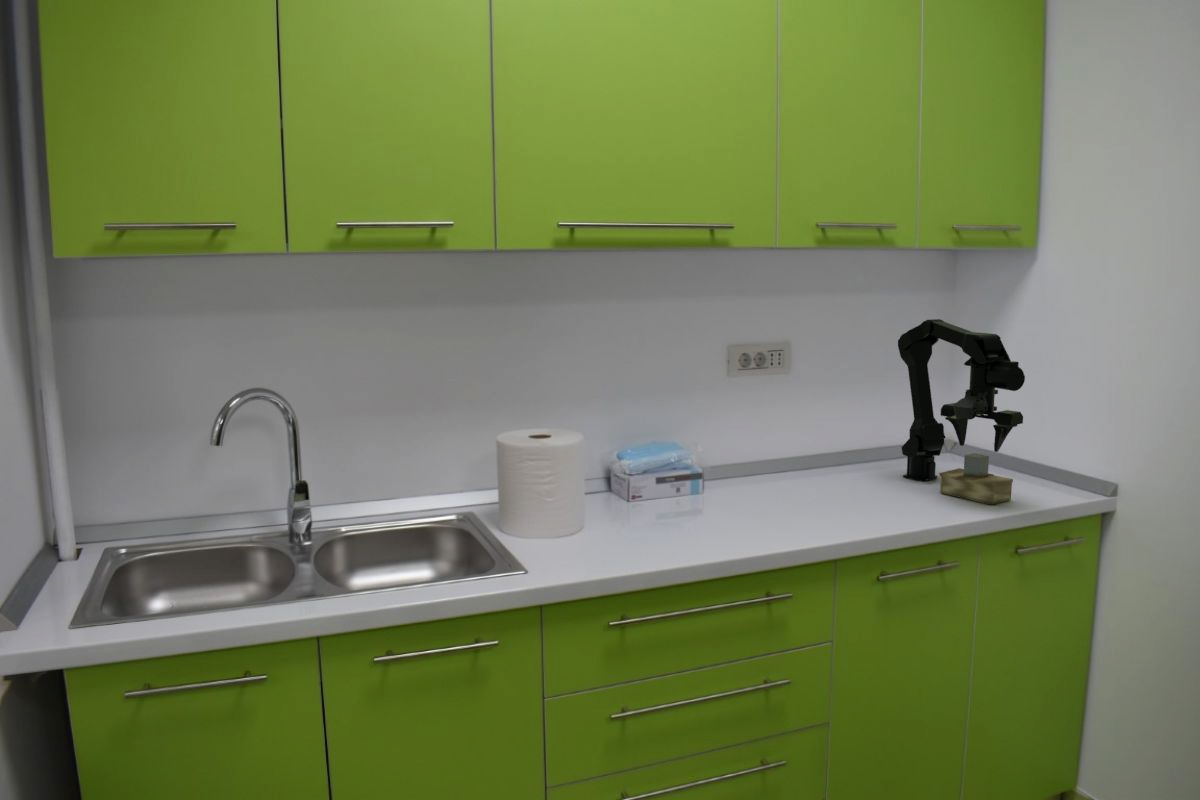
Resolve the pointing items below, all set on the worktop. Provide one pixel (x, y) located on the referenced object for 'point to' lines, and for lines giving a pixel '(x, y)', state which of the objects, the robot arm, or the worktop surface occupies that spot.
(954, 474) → the lid
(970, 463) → the block
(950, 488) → the box
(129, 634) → the worktop surface
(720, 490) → the worktop surface
